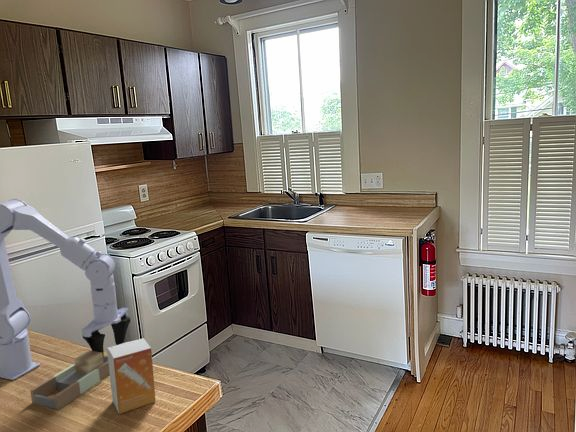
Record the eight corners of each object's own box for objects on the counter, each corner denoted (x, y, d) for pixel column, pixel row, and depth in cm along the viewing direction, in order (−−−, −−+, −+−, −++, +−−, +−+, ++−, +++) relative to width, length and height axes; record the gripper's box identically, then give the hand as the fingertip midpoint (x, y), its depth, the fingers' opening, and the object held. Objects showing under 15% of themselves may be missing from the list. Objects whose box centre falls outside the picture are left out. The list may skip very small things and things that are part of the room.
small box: (118, 415, 93) (112, 358, 91) (112, 401, 98) (106, 347, 96) (156, 402, 97) (151, 347, 95) (148, 389, 103) (143, 337, 100)
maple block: (75, 371, 108) (74, 358, 107) (89, 362, 112) (88, 350, 111) (90, 374, 106) (88, 361, 106) (103, 365, 110) (102, 352, 110)
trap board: (32, 403, 99) (30, 390, 98) (97, 361, 117) (95, 350, 116) (58, 409, 96) (57, 396, 95) (121, 366, 114) (120, 354, 113)
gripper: (95, 314, 105) (101, 366, 107) (136, 293, 118) (140, 341, 121) (72, 311, 107) (79, 362, 110) (115, 291, 121) (119, 337, 123)
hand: (109, 351), depth 115 cm, fingers open, 7 cm apart
